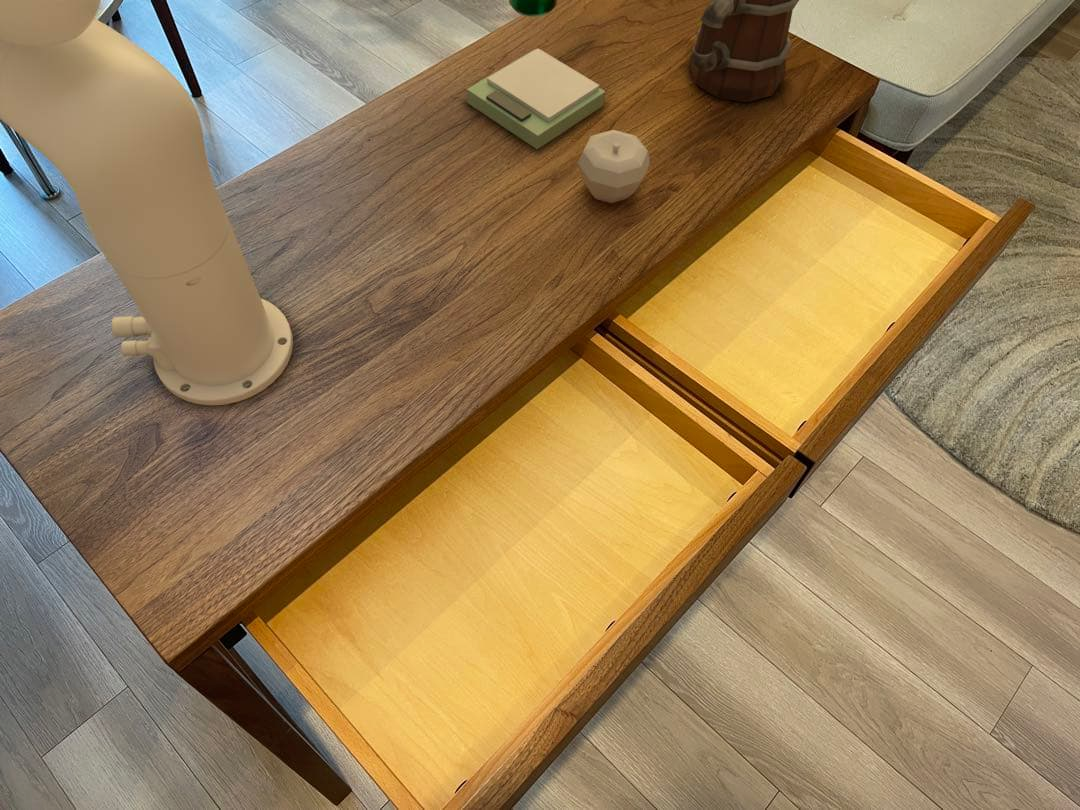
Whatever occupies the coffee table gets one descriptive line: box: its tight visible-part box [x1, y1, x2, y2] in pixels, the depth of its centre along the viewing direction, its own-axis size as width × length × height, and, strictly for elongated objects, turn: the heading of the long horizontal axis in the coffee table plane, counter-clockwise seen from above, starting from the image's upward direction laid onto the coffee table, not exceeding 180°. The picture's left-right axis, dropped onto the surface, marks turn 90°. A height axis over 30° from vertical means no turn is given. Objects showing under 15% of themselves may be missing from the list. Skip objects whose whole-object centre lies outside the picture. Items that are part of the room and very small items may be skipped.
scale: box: [466, 48, 606, 150], centre depth 96 cm, size 12×12×3 cm
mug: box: [688, 0, 800, 103], centre depth 94 cm, size 16×12×15 cm
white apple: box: [577, 129, 651, 204], centre depth 86 cm, size 8×8×7 cm
